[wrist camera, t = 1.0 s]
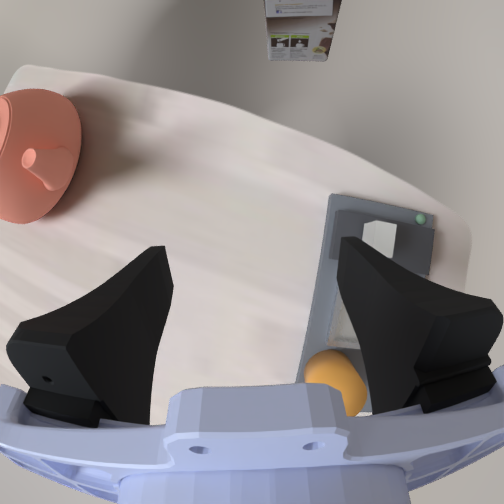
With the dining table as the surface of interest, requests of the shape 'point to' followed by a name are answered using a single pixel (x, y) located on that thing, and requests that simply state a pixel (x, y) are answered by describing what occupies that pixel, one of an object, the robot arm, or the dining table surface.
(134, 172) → the dining table surface
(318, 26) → the coffee box
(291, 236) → the dining table surface
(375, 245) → the lever
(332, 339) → the frame
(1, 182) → the teapot
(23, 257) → the dining table surface
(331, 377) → the cap
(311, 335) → the breaker panel
